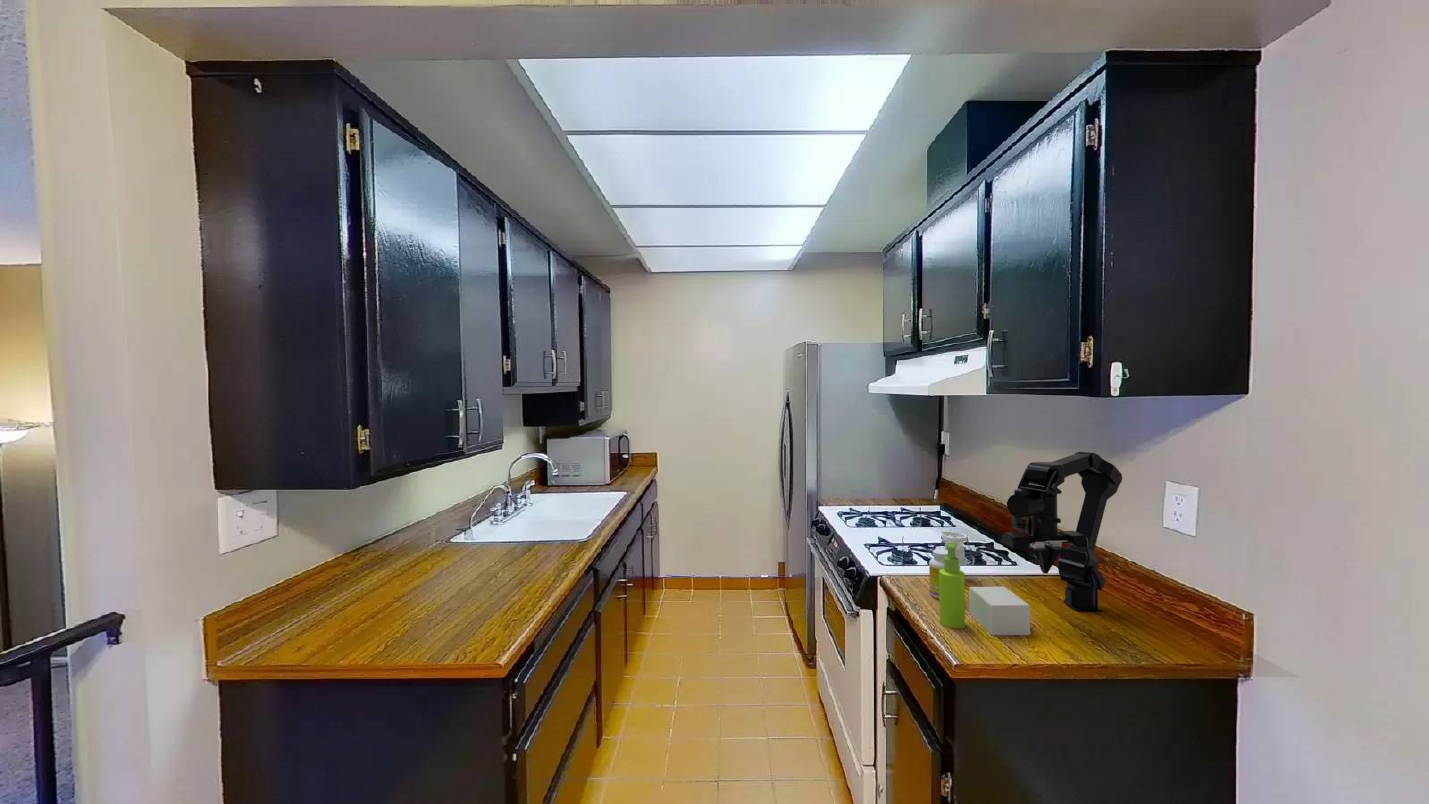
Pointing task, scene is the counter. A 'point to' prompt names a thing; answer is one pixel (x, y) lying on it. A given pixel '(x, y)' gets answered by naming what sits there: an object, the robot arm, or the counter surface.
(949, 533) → the white tall piece
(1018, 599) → the light grey rectangular block
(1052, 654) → the counter surface
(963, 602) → the soap dispenser
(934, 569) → the supplement bottle
